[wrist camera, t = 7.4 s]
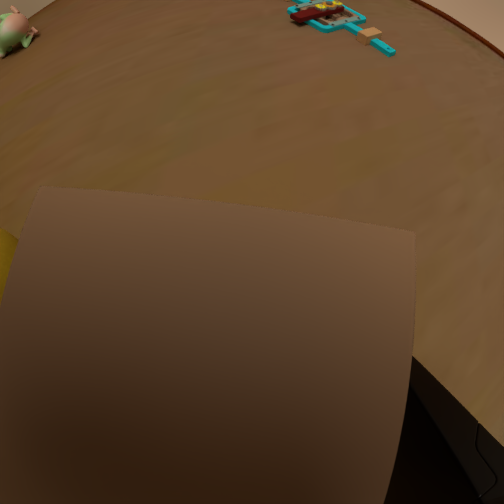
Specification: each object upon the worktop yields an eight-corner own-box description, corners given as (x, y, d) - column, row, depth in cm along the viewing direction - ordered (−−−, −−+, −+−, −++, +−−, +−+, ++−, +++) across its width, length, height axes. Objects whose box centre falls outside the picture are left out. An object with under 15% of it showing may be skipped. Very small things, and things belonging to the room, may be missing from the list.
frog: (19, 11, 31) (-12, 40, 30) (10, -5, 24) (-25, 28, 24) (45, 41, 37) (13, 71, 36) (39, 28, 30) (2, 62, 29)
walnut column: (279, 426, 14) (340, 608, 2) (187, 410, 14) (-10, 504, 2) (293, 337, 15) (415, 231, 3) (203, 323, 16) (39, 185, 3)
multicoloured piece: (360, 71, 27) (408, 52, 28) (371, 29, 22) (421, 17, 23) (243, 2, 32) (295, -11, 34) (241, -31, 27) (297, -41, 29)
